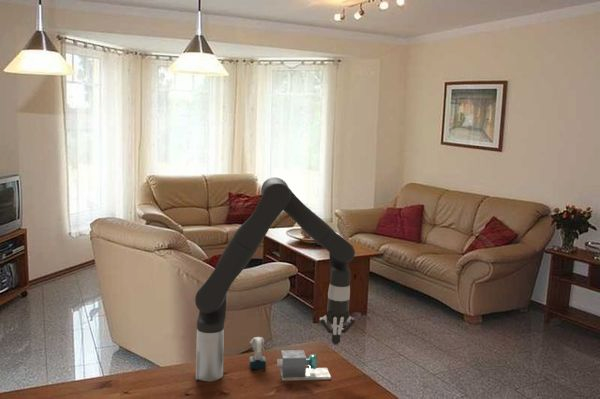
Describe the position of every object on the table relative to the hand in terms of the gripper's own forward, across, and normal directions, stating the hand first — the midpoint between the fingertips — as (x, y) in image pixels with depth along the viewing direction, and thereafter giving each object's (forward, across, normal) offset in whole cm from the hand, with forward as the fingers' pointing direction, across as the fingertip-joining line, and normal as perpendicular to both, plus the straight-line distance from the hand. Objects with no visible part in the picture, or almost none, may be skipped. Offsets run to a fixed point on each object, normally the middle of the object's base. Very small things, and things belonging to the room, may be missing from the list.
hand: (335, 343), depth 195 cm
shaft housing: (+12, -10, 0) cm, 16 cm away
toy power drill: (+12, -27, +7) cm, 30 cm away
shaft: (+9, -13, 0) cm, 16 cm away
